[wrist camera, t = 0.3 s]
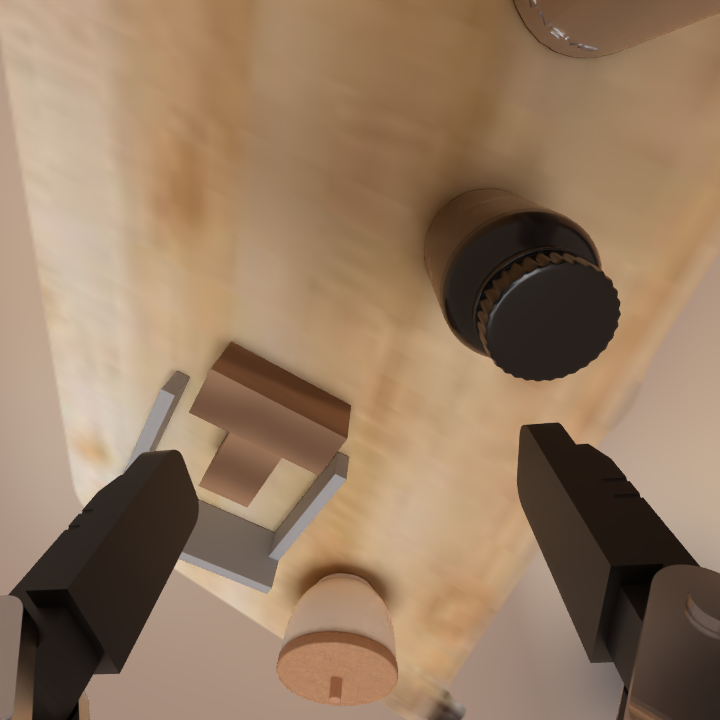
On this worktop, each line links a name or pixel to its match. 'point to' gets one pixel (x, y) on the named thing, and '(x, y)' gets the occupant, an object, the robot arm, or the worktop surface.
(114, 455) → the worktop surface
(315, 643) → the lidded jar
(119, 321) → the worktop surface
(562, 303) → the supplement bottle
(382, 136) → the worktop surface
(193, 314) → the worktop surface
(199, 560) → the grey fence
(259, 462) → the t block
